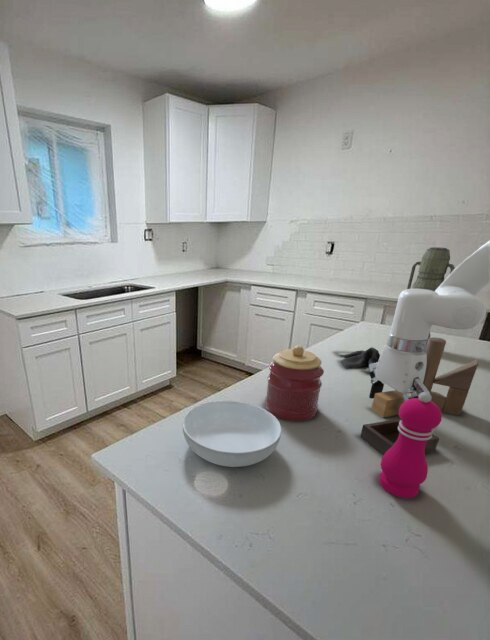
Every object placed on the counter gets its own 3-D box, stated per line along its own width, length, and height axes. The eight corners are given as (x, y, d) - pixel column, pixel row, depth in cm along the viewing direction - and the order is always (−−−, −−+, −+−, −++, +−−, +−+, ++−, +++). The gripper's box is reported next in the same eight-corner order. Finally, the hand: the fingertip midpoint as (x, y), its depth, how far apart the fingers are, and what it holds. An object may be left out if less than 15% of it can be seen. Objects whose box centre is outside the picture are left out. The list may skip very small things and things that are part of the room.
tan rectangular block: (393, 406, 95) (398, 389, 93) (406, 414, 91) (411, 396, 89) (370, 410, 93) (374, 393, 91) (382, 418, 90) (387, 400, 88)
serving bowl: (295, 447, 80) (299, 420, 77) (242, 498, 66) (245, 467, 63) (219, 414, 93) (220, 390, 90) (162, 450, 80) (161, 424, 77)
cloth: (411, 363, 120) (416, 346, 117) (397, 382, 107) (402, 363, 105) (341, 348, 134) (344, 332, 131) (322, 363, 121) (324, 346, 119)
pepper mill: (428, 503, 64) (463, 404, 56) (383, 498, 65) (412, 401, 57) (410, 475, 70) (439, 384, 62) (370, 472, 72) (393, 381, 64)
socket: (402, 430, 85) (406, 417, 83) (434, 452, 77) (439, 438, 75) (359, 438, 82) (362, 424, 81) (388, 461, 75) (392, 446, 73)
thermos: (429, 356, 125) (460, 250, 111) (390, 349, 132) (415, 248, 118) (432, 348, 131) (462, 247, 117) (395, 342, 138) (419, 246, 124)
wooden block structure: (459, 416, 89) (483, 348, 82) (408, 404, 96) (427, 340, 88) (460, 410, 92) (483, 344, 85) (410, 398, 98) (428, 335, 91)
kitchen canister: (260, 415, 92) (266, 351, 85) (269, 393, 103) (275, 335, 95) (314, 427, 87) (326, 359, 80) (318, 402, 97) (329, 341, 90)
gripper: (454, 354, 78) (431, 422, 85) (390, 330, 93) (376, 389, 100) (425, 358, 76) (404, 426, 83) (365, 333, 91) (352, 392, 98)
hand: (389, 406), depth 91 cm, fingers open, 9 cm apart
